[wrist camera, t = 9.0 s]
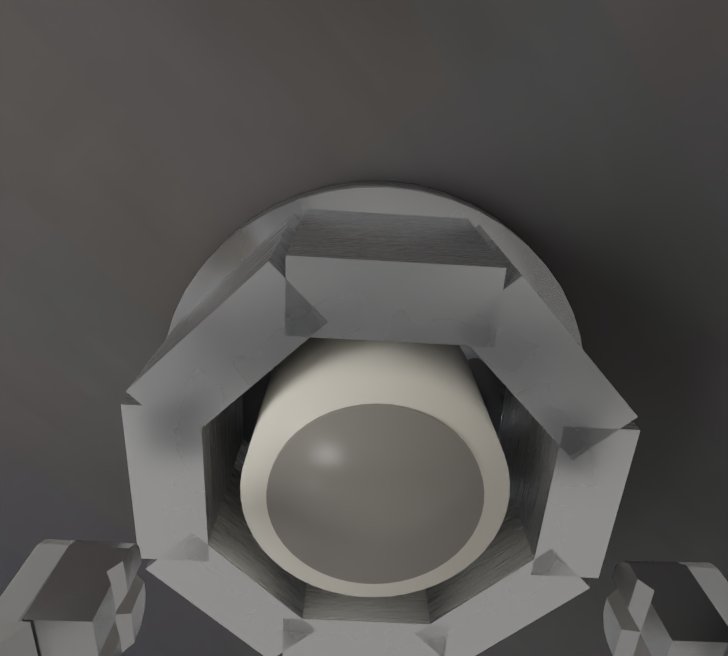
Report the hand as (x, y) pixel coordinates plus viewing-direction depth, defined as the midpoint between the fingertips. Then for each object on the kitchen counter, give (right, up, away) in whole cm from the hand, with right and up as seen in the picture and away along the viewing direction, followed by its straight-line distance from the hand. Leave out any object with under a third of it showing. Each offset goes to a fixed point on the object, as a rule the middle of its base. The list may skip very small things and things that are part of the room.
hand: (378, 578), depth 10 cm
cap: (0, +2, +6) cm, 6 cm away
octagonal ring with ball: (0, +3, +7) cm, 7 cm away
